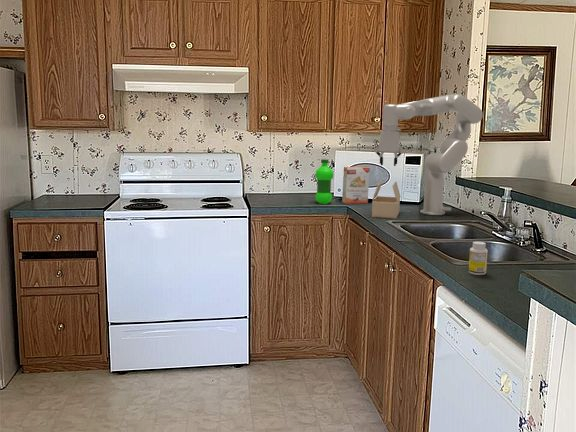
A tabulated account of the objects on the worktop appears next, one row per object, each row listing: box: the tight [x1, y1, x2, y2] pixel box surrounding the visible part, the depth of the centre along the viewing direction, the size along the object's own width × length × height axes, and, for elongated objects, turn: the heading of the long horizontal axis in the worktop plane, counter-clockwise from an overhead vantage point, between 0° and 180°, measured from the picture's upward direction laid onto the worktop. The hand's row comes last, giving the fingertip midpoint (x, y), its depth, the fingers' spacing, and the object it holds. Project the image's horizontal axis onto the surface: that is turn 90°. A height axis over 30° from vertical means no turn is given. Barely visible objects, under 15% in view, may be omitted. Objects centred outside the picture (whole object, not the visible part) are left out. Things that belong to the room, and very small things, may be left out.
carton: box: [371, 195, 401, 220], centre depth 300 cm, size 12×21×8 cm, turn 165°
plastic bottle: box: [314, 158, 334, 205], centre depth 333 cm, size 10×10×25 cm
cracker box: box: [341, 166, 371, 205], centre depth 336 cm, size 14×6×21 cm, turn 105°
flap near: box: [392, 181, 401, 201], centre depth 297 cm, size 8×18×1 cm
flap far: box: [372, 180, 383, 201], centre depth 300 cm, size 8×18×1 cm
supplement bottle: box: [468, 241, 489, 276], centre depth 191 cm, size 6×6×10 cm
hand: (388, 165), depth 296 cm, fingers open, 5 cm apart
